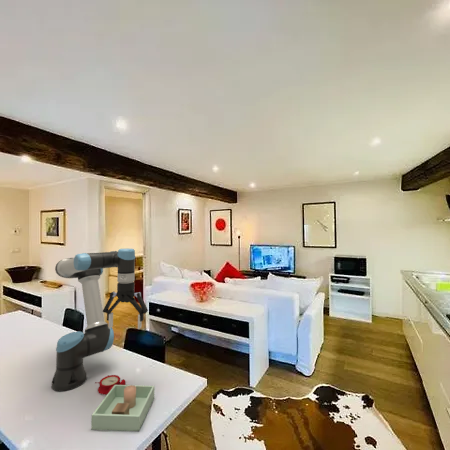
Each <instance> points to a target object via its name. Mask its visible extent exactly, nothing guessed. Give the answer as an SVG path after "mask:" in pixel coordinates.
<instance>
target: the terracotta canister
mask: <svg viewBox="0 0 450 450" xmlns="http://www.w3.org/2000/svg"><path fill="white" fill-rule="evenodd" d="M124 403H129V409H131V408H133V407H134V406H135V405H136V386H133V384H131V386H127V387H126V388H125V389H124Z"/></svg>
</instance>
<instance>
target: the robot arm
mask: <svg viewBox="0 0 450 450" xmlns="http://www.w3.org/2000/svg"><path fill="white" fill-rule="evenodd" d="M110 268H117V284H116V285H117V286H116V288H117V289H116V290H117V291H116V292H115V291H111V292H110V293H109V298H108V300H107V302H106V304H105V305H104V308H103V304H102V302H103V301H102V298H101V292H100V291H101V289H100V284H99V283H100V282H99V280H100V279H101V276H102V275H103V272H104V269H110ZM54 269H55V270H54V271H55V273H56V274H57V276H58V277H61V278H64V279H77V282H79V283H80V284H81V288H82V297H83V304H84V310H85V311H84V312H85V317H86V327H85V329H84V332H83V331H79V330H78V331H73V332H69V333H67V334H64V335H63V336H61V337H60V338H59V339H58V340H57V342H56V348H55V349H56V350H55V351H56V357H55V359H56V360H55V361H56V363H55V365H56V366H55V372H54V375H53V377H52V380H51V390H53V391H55V392H67V391H70V390H71V391H72V390H74V389H76V388H78V387H80V386H82V385H83V384H84V383H85V382H86V380H87V377H88V376H87V371H86V368H85V365H84V359H85V358H87V357H90V356H93V355H96V354H99V353H103V352H104V351H108V350H110V349H111V348H112V347H113V344H114V342H115V341H114V340H115V339H114V338H115V334H114V333H115V331H114V329H113V327H114V312H113V310H114V309H116V307H118V305H119V303H127V304H128V303H130V304H131V305H132V306H133V308H134V309H135V310H136V311H137V313H138V314H137V330H140V329H142V325H143V323H142V322H143V321H144V320H145V318H144V317H145V316H144V315H145V314H147V312H148V311H149V309H148V307H147V305H146V303H145V301H144V298H143V297H142V292H141V291H139V292H135V286H136V285H135V280H136V279H135V269H136V250H135V248H120V249H119V248H118V250H115V251H114V250H113V251H105V252H83V253H77V254H75V255H74V257H68V258H63V259H61V260H60V261H58V262H57V263H56V264H55V268H54ZM115 297H117V299H116V300H115V302H114V303H113V304H112V302H113V301H114V299H115ZM135 297H136V298H135ZM136 299H137V301H136ZM111 304H112V305H111ZM110 306H111V307H110ZM104 313H105V314H106V320H107V321H108V323H107V322H106V321H105V316H104Z"/></svg>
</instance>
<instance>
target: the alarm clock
mask: <svg viewBox="0 0 450 450" xmlns="http://www.w3.org/2000/svg"><path fill="white" fill-rule="evenodd" d="M94 384H97V382H95V383H94ZM98 384H99V386H98V388H97V392H98V393H99V394H100V395H102V396H103V395H107V394H108V393H109V392H110V390H111V389H112V388H113V386H114V385H127V384H126V379H122V380H121V377H120V376H119V375H118V374H117V375H116V374H111V375H107V376H104V377H102V378H101V379H100V380H99V382H98Z"/></svg>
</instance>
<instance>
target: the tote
mask: <svg viewBox="0 0 450 450" xmlns="http://www.w3.org/2000/svg"><path fill="white" fill-rule="evenodd" d="M131 385H133V384H131ZM131 385H130V384H126V385H114V386H113V388H112V389H111V390H110V392H109V393H108V394H107V395H106V396H105V397H104V398H103V400H102V401H101V402H100V403H99V405H98V406H97V408H96V409H95V410H94V411H93V413H92V414H91V421H90V422H91V423H90V424H91V425H90V428H91V429H90V431H91V430H93V431H114V432H115V431H119V432H120V431H121V432H140V430H141V428H142V426H143V424H144V422H145V420H146V417H147V415H148V412H149V410H150V409H151V407H152V404H153V402H154V400H155V393H156V392H155V387H156V386H155V385H139V384H135V385H133V386H136V405H135V406H134V407H133V408H131V409H129V415H121V414H112V411H113V409H114V408H115V406H116V405H117V403H124V389H125V388H126V387H127V386H131Z"/></svg>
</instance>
